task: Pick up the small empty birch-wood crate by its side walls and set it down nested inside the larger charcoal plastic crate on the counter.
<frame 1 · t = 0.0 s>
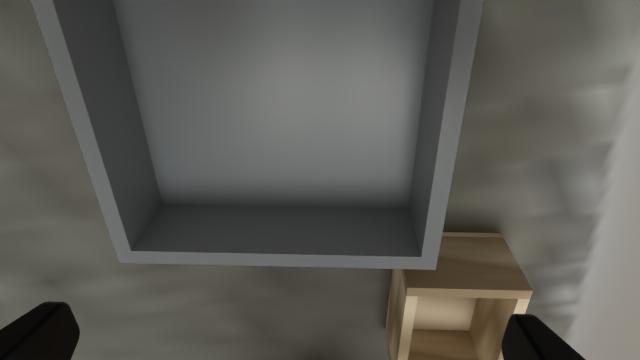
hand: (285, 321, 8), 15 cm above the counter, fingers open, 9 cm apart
birch crate: (437, 283, 28), on the counter
charcoal crate: (278, 80, 21), on the counter
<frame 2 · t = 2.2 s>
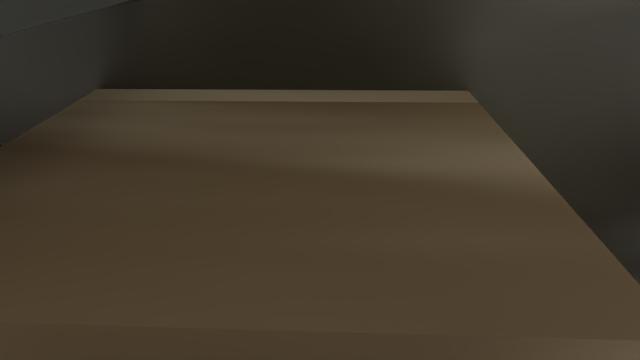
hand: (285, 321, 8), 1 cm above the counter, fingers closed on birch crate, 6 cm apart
birch crate: (290, 282, 9), on the counter, touching gripper
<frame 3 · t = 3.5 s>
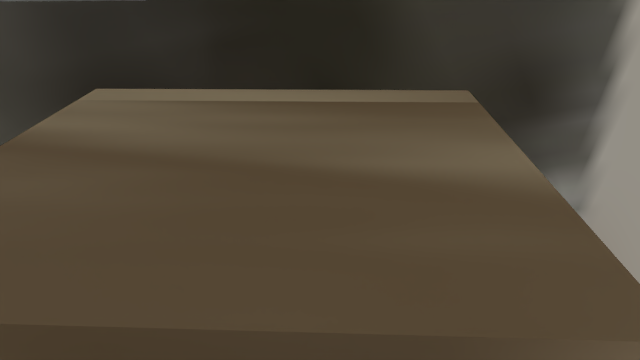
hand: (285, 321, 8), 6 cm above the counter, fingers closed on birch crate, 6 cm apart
birch crate: (290, 283, 9), point 5 cm above the counter, touching gripper
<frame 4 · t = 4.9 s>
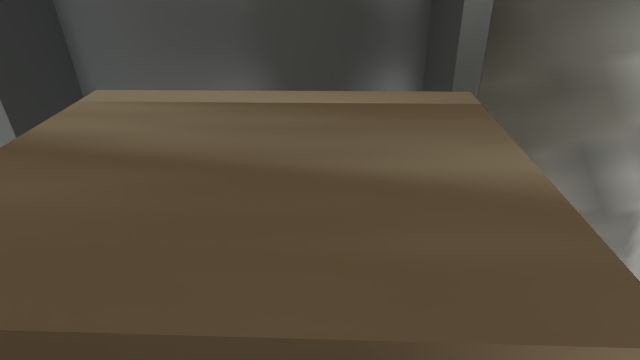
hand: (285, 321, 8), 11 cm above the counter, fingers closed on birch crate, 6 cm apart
birch crate: (291, 284, 9), point 10 cm above the counter, touching gripper
charcoal crate: (249, 52, 17), on the counter
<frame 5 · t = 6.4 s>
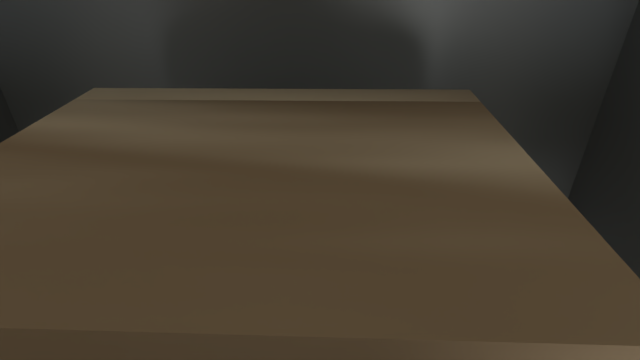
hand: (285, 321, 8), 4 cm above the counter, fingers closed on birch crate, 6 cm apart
birch crate: (290, 283, 9), point 3 cm above the counter, touching gripper
charcoal crate: (301, 198, 12), on the counter
when the fingers open (3 cm above the counter, at t = 7.6 s): birch crate drops 1 cm, resting on charcoal crate.
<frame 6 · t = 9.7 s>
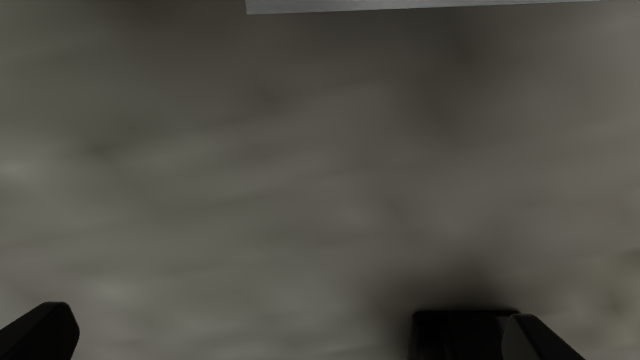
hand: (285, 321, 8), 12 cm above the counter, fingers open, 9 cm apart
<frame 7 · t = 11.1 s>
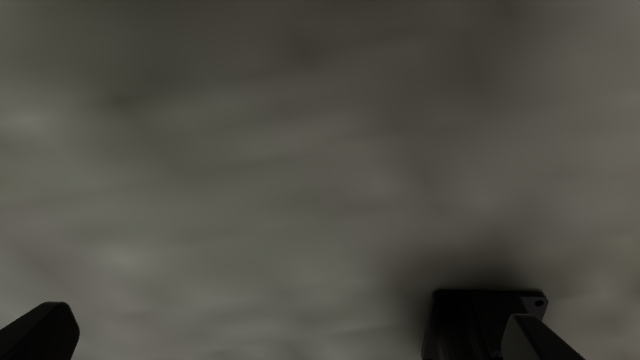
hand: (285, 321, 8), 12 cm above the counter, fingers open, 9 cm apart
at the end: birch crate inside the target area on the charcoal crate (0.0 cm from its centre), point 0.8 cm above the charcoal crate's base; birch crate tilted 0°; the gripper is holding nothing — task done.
